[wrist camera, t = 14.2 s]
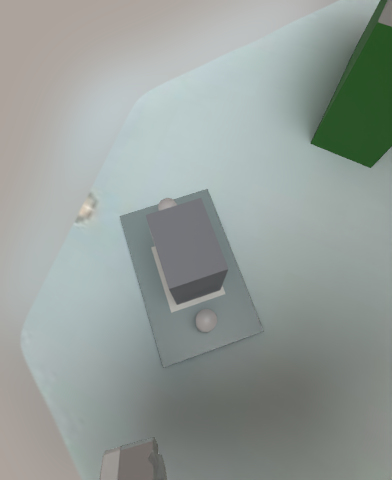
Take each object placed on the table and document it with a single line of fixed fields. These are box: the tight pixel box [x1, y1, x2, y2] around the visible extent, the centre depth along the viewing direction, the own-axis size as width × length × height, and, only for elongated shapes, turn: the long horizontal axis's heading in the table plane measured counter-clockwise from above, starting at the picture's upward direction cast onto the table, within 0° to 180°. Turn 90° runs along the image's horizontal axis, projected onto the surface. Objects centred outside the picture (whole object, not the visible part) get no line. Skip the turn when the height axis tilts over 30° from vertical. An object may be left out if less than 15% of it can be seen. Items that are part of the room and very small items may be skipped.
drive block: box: [146, 198, 228, 305], centre depth 28 cm, size 6×5×9 cm
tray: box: [120, 189, 263, 368], centre depth 31 cm, size 16×10×5 cm, turn 19°
